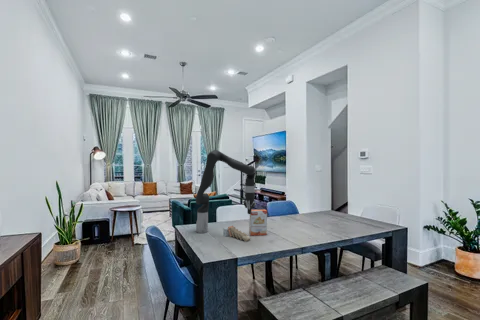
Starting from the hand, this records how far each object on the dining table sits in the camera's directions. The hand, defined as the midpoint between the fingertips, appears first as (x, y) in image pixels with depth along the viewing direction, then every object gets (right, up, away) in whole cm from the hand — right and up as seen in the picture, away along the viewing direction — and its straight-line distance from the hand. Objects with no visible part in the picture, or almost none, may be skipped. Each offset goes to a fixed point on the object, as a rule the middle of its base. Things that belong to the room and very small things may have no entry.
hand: (249, 213), depth 194 cm
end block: (-16, -21, +15) cm, 31 cm away
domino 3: (-7, -20, +6) cm, 22 cm away
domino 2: (-10, -21, +9) cm, 25 cm away
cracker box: (+8, -22, +17) cm, 29 cm away
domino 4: (-4, -20, +3) cm, 21 cm away
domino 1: (-13, -21, +11) cm, 27 cm away
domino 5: (-1, -20, 0) cm, 20 cm away
